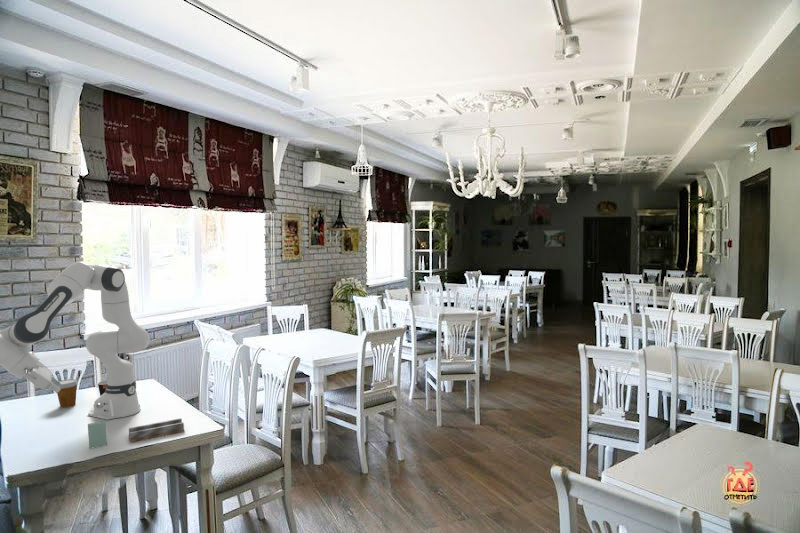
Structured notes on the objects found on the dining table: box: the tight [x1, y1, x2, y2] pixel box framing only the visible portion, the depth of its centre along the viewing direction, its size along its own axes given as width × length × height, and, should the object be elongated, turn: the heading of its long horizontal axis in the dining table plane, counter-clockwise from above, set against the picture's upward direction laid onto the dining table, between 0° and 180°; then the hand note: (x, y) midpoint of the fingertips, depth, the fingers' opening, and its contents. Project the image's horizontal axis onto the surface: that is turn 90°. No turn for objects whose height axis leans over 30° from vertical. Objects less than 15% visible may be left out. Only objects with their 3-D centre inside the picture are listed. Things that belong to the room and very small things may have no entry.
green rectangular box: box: [87, 420, 108, 449], centre depth 207 cm, size 6×2×9 cm, turn 120°
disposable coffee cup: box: [56, 378, 79, 409], centre depth 257 cm, size 10×10×12 cm
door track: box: [128, 417, 185, 444], centre depth 217 cm, size 20×9×4 cm, turn 120°
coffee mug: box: [97, 379, 108, 397], centre depth 260 cm, size 12×9×10 cm
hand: (59, 388), depth 199 cm, fingers open, 8 cm apart
